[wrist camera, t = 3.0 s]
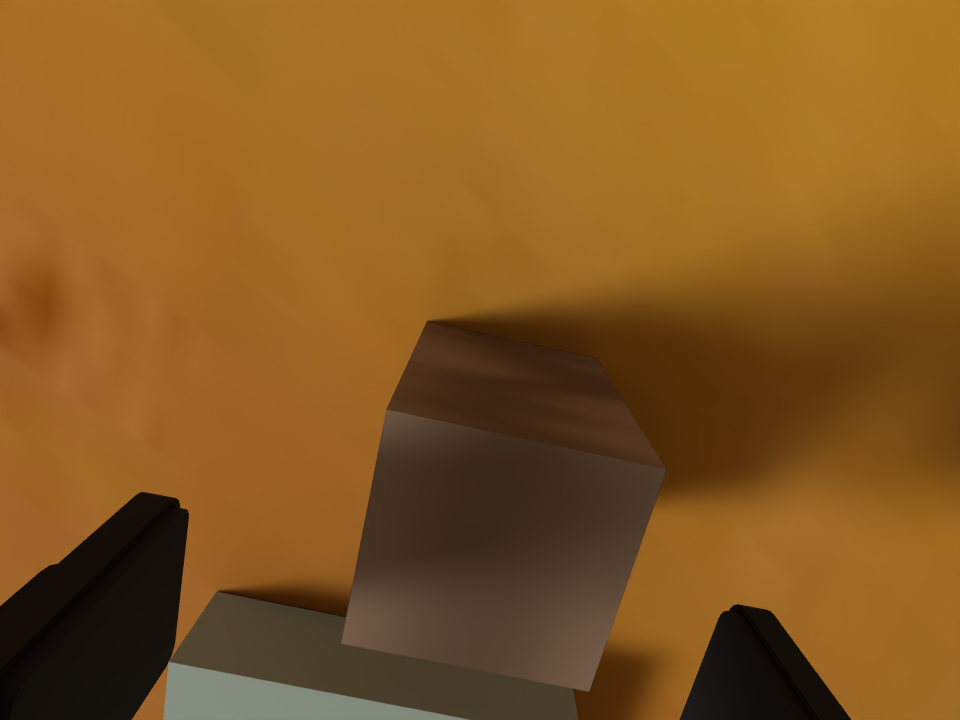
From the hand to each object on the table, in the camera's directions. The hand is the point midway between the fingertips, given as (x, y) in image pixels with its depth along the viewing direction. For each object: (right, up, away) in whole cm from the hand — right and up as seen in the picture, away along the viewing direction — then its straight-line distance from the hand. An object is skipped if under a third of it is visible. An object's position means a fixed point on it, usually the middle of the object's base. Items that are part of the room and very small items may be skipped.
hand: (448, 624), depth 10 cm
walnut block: (+1, +3, +8) cm, 8 cm away
